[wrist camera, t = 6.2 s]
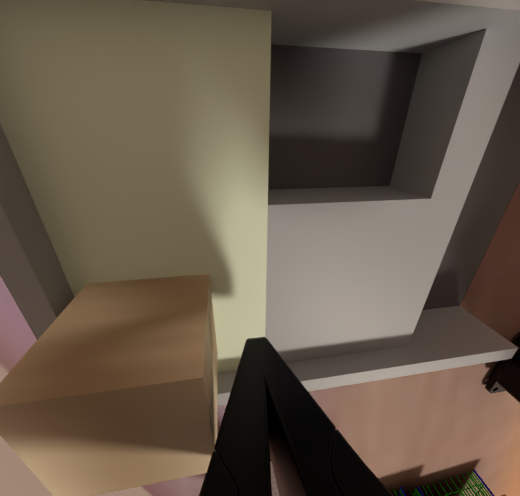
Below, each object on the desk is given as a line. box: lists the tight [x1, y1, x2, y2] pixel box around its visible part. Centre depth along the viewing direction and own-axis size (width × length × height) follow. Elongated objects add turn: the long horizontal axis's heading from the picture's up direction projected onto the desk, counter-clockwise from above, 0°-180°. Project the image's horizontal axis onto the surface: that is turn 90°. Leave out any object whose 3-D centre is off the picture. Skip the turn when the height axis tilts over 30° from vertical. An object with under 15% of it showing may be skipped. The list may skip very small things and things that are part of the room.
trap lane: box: [0, 0, 520, 406], centre depth 9 cm, size 20×14×4 cm
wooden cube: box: [0, 274, 218, 496], centre depth 7 cm, size 4×4×4 cm
